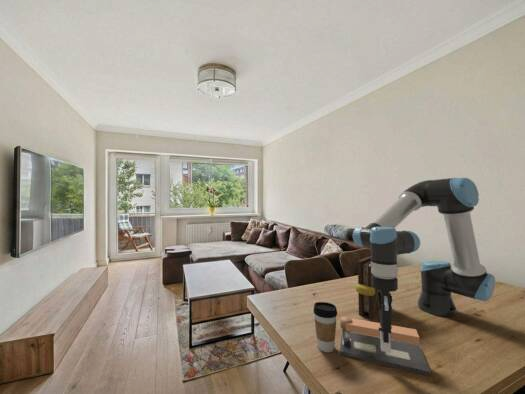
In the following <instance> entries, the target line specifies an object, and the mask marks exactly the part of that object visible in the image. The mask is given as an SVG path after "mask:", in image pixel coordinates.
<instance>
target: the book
mask: <svg viewBox="0 0 525 394" xmlns="http://www.w3.org/2000/svg"><path fill="white" fill-rule="evenodd" d="M369 264H372V263H371V255H369V256H366V257H364V258H361V259H359V260H357V284H356V285H355V291H356V292H357V293H358V315H359V317H364V316H365V315H366V314H367V313H368V319H369V320H374V319H376V318H377V317H378V316H379V315H380V309H379V304H378V296H377V292H379V291H380V290H377V289H375V288H373V287H372V285H371V275H372V273H371V267H369Z"/></svg>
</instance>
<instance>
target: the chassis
mask: <svg viewBox="0 0 525 394" xmlns="http://www.w3.org/2000/svg"><path fill="white" fill-rule="evenodd" d="M421 348H422V347H420V345H417V344H412V343H406V342H401V341H396V340H391V353H389V352H384V351H381V337H376V336H371V335H365V334H360V333H355V332H350V331H346V330H344V329H342V328H341V337H340V345H339V355H340V356H344V357H348V358H353V359H357V360H362V361H366V362H370V363H374V364H379V365H382V366H387V367H391V368H395V369H400V370H404V371H408V372H411V373H412V372H413V373H417V374H421V375H424V376H428V377H429V376H430V377H431V370H430V367H429V365H428V364H427V360H426V357H425V356H424V353H423V351H422V349H421Z"/></svg>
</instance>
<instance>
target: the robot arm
mask: <svg viewBox="0 0 525 394" xmlns="http://www.w3.org/2000/svg"><path fill="white" fill-rule="evenodd" d="M479 196H480V195H479V190H478V187H477V186H476V184H475V182H474V181H473V180H472V179H470V178H467V177H451V178H441V179H429V180H424V181H419V182H417V183H415V184H414V185H411V186H410V187H408V188H406V189H405V190H404V191H402V192H401V193H400V194H399V196H398V199H397V200H396V201H395V202H394V203H392V204H391V205H390V206H389V207H388V208H386V209H385V210H384V211H383V212H382V213H381V214H379V215H378V216H377V217H376V218H375V219H374V220H372V221H371V222H370V223H369V224H368V225H367V226H365V227H364V226H361V227H356V228H355V229H354V230H353V232H352V240H353V243H354V244H355V245H357V246H359V247H363V248H367V249H368V248H370V256H371V263H372V264H369V267H371V273H372V275H371V285H372V287H373V288H375V289H377V290H380V291H379V292H377V296H378V304H379V309H380V313H379V323H380V326H381V328H379V331H380V336H381V337H380V338H381V351H384V352H389V353H391V338H390V333H391V329H392V326H391V325H392V308H393V306H392V303H393V296H392V293H391V292H397V291H398V289H399V287H398V286H399V285H398V283H399V281H398V278H397V277H398V276H399V274H398V256H400V255H406V254H411V253H414V252H417V251H418V250H419V248H420V247H421V240H420V237H419V236H418V234H416V233H415V232H414V231H411V230H401V231H400V230H397V229H396V228H397V227H398V226H399V225H400V224H401V223H402V222H403V221H405V219H407V217H409V215H411V214H412V212H415V211H418V210H419V209H420V208H424V207H437V212H438V213H439V214H441V215H443V217H444V222H445V227H446V232H447V236H448V242H449V245H450V251H451V255H452V260H453V264H452V265H451V263H450V262H449V261H445V260H444V261H443V260H427V261H423V262H421V265H420V273H421V274H420V277H421V278H420V282H421V292H420V294H419V296H418V300H417V306H418V308H419V309H420V310H422V311H424V312H425V313H428V314H431V315H435V316H440V317H455V316H456V315H457V306H456V304H455V302H454V299H453V297H452V294H456V295H460V296H463V297H466V298H470V299H473V300H477V301H483V302H488V301H489V300H490V299H491V298H492V296H493V294H494V291H495V288H496V287H495V286H496V278H495V276H494V274H492V273H488V271H487V268H486V266H485V265H483V264H481V262H480V256H479V252H478V251H479V250H478V246H477V241H476V237H475V231H474V226H473V222H472V216H471V213H472V211H474V209H475V207H476V206H478V203H479V201H480V198H479Z"/></svg>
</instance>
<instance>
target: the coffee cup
mask: <svg viewBox="0 0 525 394" xmlns="http://www.w3.org/2000/svg"><path fill="white" fill-rule="evenodd" d="M313 305H314V306H313V313H314V325H315V327H314V328H315V334H316V346H317V348H318V350H319V351H321V352H324V353H331V352H333V351H334V350H335V340H336V330H337V316H338V310H337V306H336V305H335V304H333V303H330V302H325V301H317V302H314V304H313Z"/></svg>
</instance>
